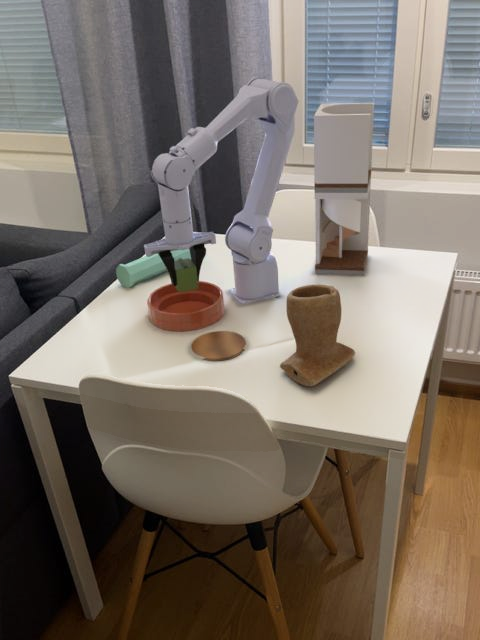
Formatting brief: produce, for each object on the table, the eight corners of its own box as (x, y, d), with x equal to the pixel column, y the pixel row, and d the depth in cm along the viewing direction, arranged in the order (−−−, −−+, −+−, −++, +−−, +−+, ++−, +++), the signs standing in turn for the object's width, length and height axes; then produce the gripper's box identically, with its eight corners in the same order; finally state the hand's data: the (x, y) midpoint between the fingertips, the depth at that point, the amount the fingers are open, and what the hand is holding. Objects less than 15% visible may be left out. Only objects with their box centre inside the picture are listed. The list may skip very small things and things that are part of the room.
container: (195, 228, 176) (116, 259, 162) (211, 242, 174) (132, 274, 160) (191, 247, 181) (114, 279, 167) (206, 260, 179) (130, 293, 165)
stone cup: (313, 340, 139) (313, 270, 130) (363, 359, 132) (366, 286, 123) (263, 373, 130) (259, 300, 121) (313, 394, 123) (313, 319, 114)
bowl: (211, 293, 159) (209, 275, 157) (234, 323, 147) (233, 304, 144) (142, 308, 156) (139, 289, 153) (160, 340, 143) (157, 320, 140)
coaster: (235, 329, 145) (235, 326, 144) (254, 353, 136) (253, 350, 136) (185, 340, 142) (184, 338, 142) (200, 366, 134) (200, 363, 133)
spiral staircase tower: (315, 274, 164) (314, 115, 143) (321, 256, 172) (321, 103, 151) (363, 275, 161) (370, 114, 141) (367, 257, 170) (374, 102, 149)
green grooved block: (192, 279, 148) (189, 255, 145) (198, 288, 145) (195, 264, 141) (173, 283, 147) (169, 259, 144) (179, 293, 144) (176, 268, 140)
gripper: (145, 231, 133) (155, 296, 141) (218, 217, 136) (223, 282, 144) (138, 220, 138) (148, 283, 146) (207, 207, 141) (213, 269, 149)
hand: (185, 281), depth 145 cm, fingers closed on green grooved block, 4 cm apart
